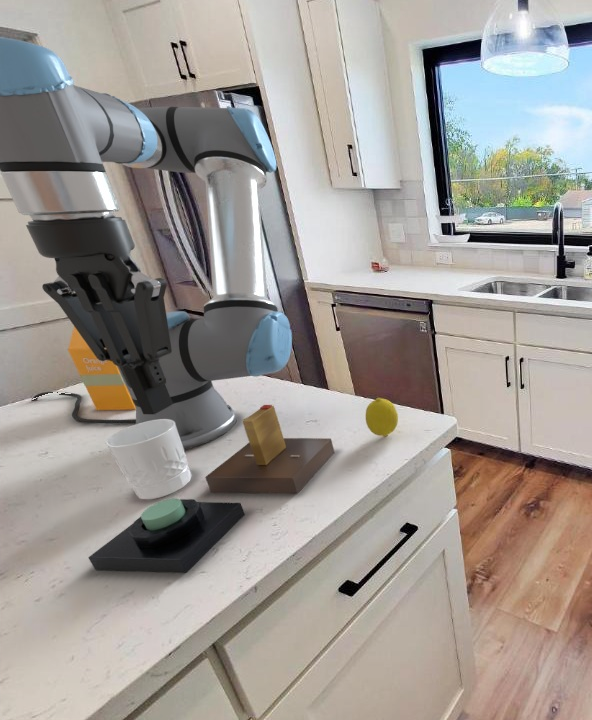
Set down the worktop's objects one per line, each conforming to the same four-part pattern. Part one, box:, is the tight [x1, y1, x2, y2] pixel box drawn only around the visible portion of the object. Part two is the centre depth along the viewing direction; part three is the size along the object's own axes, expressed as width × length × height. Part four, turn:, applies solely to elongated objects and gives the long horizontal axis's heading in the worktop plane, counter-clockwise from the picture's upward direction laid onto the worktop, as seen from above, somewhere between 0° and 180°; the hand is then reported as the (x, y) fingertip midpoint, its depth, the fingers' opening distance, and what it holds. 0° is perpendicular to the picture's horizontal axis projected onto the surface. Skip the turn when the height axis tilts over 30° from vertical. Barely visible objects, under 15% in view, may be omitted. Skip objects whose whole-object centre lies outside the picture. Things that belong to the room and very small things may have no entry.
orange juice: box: [67, 325, 136, 411], centre depth 92 cm, size 8×9×20 cm
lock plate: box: [204, 437, 335, 495], centre depth 69 cm, size 14×11×3 cm
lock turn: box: [241, 404, 286, 465], centre depth 67 cm, size 5×2×8 cm, turn 176°
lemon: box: [365, 397, 399, 438], centre depth 77 cm, size 6×6×8 cm
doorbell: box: [88, 498, 246, 574], centre depth 55 cm, size 12×10×4 cm
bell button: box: [140, 498, 186, 530], centre depth 54 cm, size 4×4×2 cm
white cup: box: [105, 419, 192, 501], centre depth 65 cm, size 8×8×10 cm
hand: (158, 408), depth 54 cm, fingers closed
